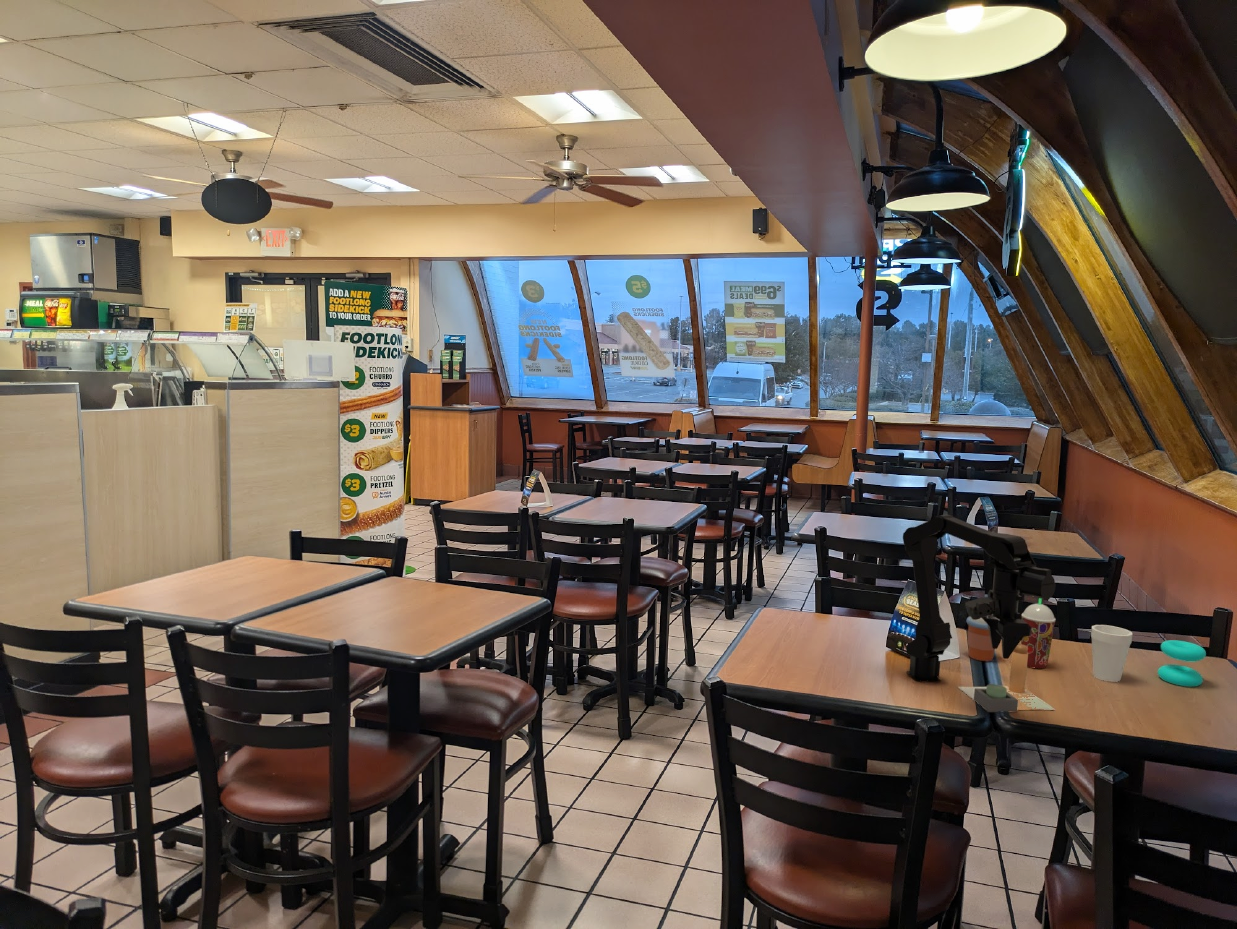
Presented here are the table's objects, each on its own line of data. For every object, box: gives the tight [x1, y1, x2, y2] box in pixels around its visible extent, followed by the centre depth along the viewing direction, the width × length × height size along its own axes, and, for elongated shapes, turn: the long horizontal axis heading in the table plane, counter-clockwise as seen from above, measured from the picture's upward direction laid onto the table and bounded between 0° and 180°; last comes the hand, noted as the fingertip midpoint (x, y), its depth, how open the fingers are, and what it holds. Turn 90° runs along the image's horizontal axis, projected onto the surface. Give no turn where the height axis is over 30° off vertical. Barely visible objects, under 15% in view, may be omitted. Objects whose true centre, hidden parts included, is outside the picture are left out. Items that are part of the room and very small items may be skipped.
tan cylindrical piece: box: [1008, 643, 1028, 693], centre depth 213 cm, size 4×4×12 cm
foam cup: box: [1090, 624, 1133, 683], centre depth 226 cm, size 10×9×13 cm
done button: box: [986, 683, 1007, 698], centre depth 204 cm, size 4×4×3 cm
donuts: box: [1157, 639, 1207, 688], centre depth 226 cm, size 10×10×10 cm
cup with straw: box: [966, 594, 996, 662], centre depth 238 cm, size 9×9×18 cm
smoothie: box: [1020, 598, 1056, 669], centre depth 233 cm, size 8×8×20 cm
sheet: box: [957, 685, 1056, 713], centre depth 208 cm, size 17×16×3 cm
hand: (999, 653), depth 203 cm, fingers open, 7 cm apart
